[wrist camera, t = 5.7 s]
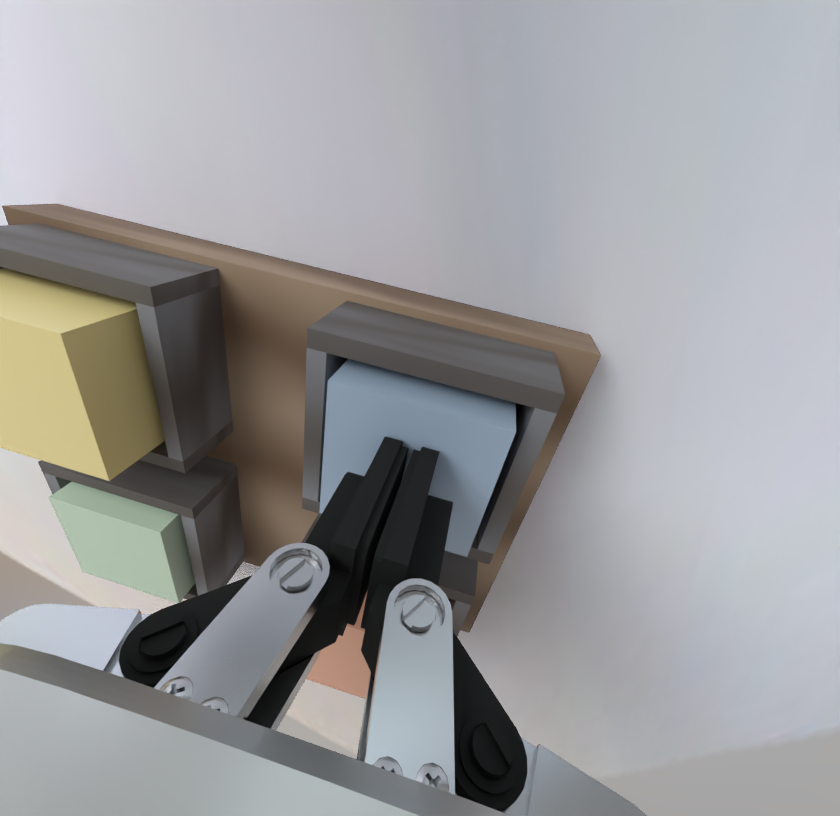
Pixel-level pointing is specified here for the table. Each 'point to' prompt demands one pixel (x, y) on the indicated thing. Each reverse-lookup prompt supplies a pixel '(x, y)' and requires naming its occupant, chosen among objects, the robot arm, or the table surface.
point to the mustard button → (74, 377)
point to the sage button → (126, 541)
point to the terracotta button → (344, 662)
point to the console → (291, 383)
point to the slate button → (419, 437)
